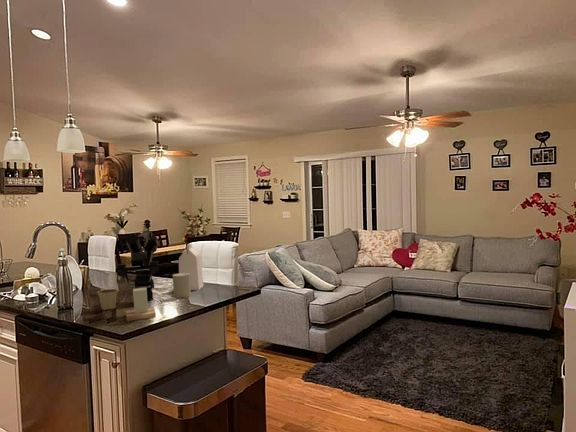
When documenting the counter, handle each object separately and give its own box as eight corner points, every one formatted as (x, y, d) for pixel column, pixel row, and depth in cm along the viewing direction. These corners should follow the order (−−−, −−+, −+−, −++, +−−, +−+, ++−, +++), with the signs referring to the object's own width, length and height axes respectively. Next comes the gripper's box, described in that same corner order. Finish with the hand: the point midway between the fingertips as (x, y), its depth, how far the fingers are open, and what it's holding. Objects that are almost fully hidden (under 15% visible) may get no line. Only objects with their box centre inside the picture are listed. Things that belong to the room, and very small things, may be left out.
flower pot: (121, 305, 217) (120, 288, 217) (115, 310, 208) (114, 292, 208) (102, 306, 217) (101, 289, 217) (95, 311, 208) (94, 293, 207)
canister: (135, 310, 197) (133, 288, 197) (147, 309, 199) (146, 287, 199) (134, 313, 192) (132, 291, 192) (147, 311, 194) (146, 289, 193)
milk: (199, 289, 250) (196, 244, 249) (179, 290, 250) (176, 245, 249) (203, 285, 262) (201, 242, 261) (184, 286, 262) (182, 243, 261)
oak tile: (126, 316, 198) (126, 310, 198) (154, 312, 203) (153, 307, 203) (126, 322, 187) (126, 316, 187) (155, 318, 191) (155, 313, 191)
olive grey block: (186, 297, 230) (185, 275, 229) (170, 297, 232) (169, 275, 231) (193, 293, 239) (192, 272, 238) (178, 293, 241) (177, 272, 240)
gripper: (115, 247, 204) (116, 274, 194) (157, 244, 210) (159, 270, 200) (117, 262, 211) (117, 288, 201) (156, 259, 218) (159, 284, 208)
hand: (138, 282), depth 203 cm, fingers open, 9 cm apart
